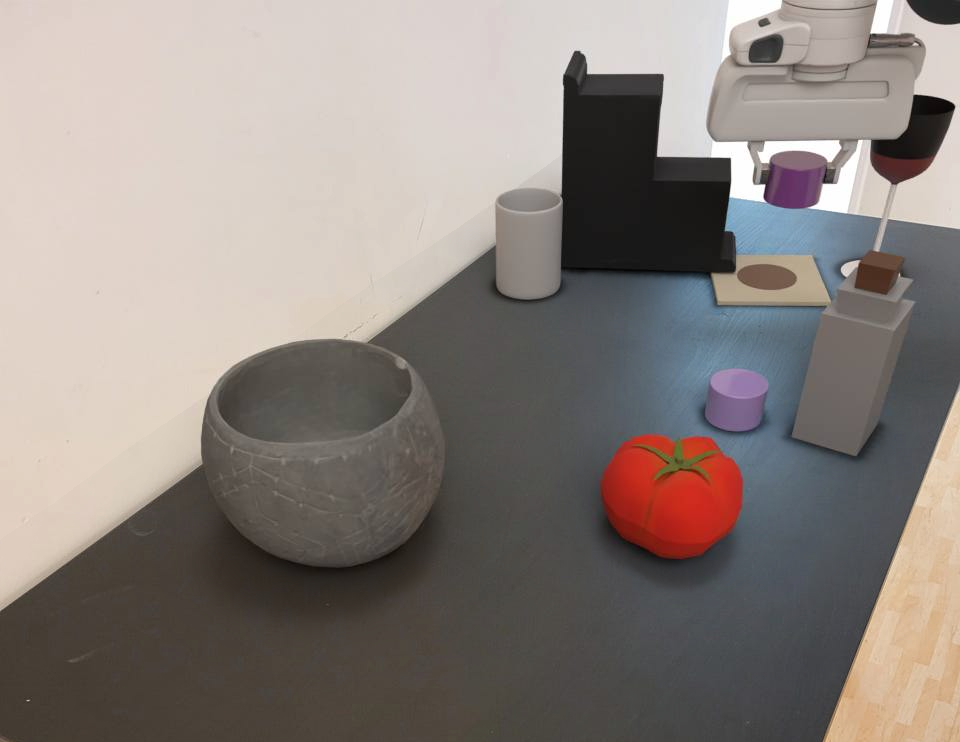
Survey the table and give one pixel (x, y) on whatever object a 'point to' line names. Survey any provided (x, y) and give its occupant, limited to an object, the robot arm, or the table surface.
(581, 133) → the bookend
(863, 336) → the perfume bottle
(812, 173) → the squat plum drum
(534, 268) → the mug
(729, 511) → the tomato
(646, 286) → the table surface
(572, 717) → the table surface
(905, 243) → the table surface
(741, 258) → the placemat
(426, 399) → the bowl
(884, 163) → the wineglass
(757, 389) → the lilac cylinder
